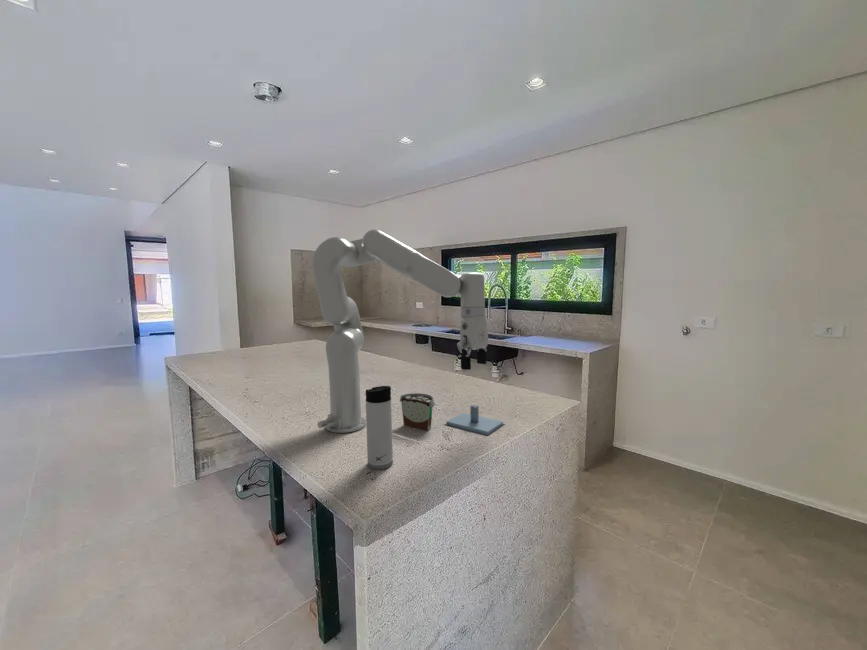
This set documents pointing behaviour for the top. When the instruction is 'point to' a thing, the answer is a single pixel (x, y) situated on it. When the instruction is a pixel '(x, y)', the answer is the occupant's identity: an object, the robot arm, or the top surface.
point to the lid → (475, 422)
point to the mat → (473, 431)
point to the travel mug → (379, 427)
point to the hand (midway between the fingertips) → (474, 366)
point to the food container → (417, 410)
